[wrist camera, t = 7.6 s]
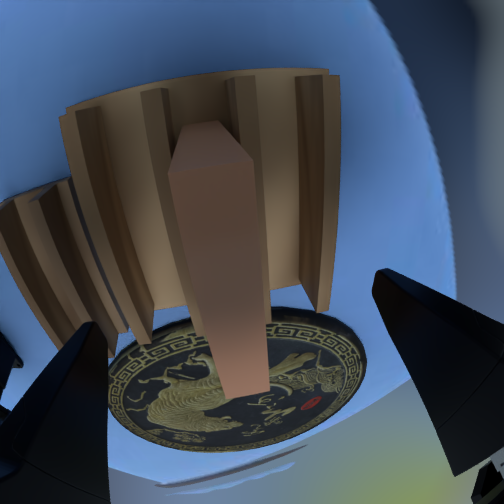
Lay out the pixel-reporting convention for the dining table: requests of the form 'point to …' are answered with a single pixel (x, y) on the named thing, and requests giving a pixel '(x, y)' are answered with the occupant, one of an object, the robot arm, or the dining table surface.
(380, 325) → the dining table surface
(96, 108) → the rack
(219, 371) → the wooden block
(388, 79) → the dining table surface
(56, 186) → the holder
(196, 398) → the decorative plate
